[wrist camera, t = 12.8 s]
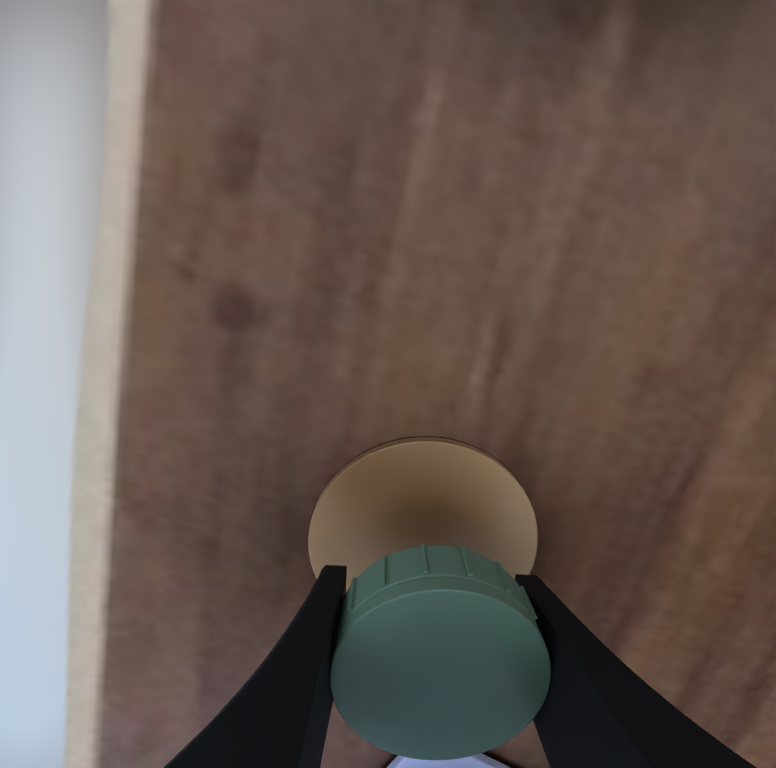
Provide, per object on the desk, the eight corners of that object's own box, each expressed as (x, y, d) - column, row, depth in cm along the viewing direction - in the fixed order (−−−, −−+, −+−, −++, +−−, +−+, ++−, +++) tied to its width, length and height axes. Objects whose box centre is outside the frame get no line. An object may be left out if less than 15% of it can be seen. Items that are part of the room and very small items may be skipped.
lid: (544, 547, 10) (572, 594, 8) (515, 702, 11) (534, 766, 10) (338, 537, 10) (329, 582, 8) (333, 694, 11) (325, 757, 9)
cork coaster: (447, 661, 15) (449, 671, 15) (269, 567, 14) (266, 575, 14) (580, 512, 13) (586, 519, 13) (390, 391, 12) (390, 394, 12)
